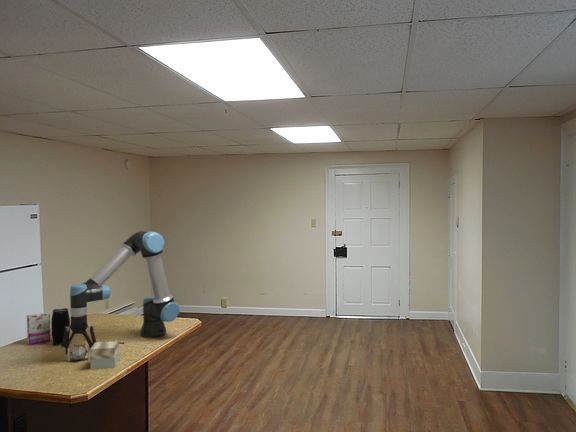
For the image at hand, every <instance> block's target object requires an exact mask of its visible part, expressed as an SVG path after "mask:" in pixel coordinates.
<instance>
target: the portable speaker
mask: <svg viewBox="0 0 576 432" xmlns="http://www.w3.org/2000/svg"><path fill="white" fill-rule="evenodd" d="M51 315H52V316H51V319H50V330H51V339H52V343H53V346H57V345H62V341H63V336H64V328H65V327H66V326H67V327H69V326H70V325H71V317H70V313H69V309H68V308H67V307H64V308H54V309H53V310H52V314H51ZM70 333H71V329H69V331H68V334H67V339H66V343H65V344H67V342H68V340H69V338H70V336H71V334H70Z"/></svg>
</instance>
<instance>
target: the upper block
mask: <svg viewBox="0 0 576 432" xmlns="http://www.w3.org/2000/svg"><path fill="white" fill-rule="evenodd" d="M117 352H118V353H119V341H118V340H116V341H115V340H114V341H100V342H99V341H98V342H97V341H96V343H94V345H93V346H92V347H91V349H90V360H94V359H109V358H115V356H116V354H117ZM90 360H89V361H90Z"/></svg>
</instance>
